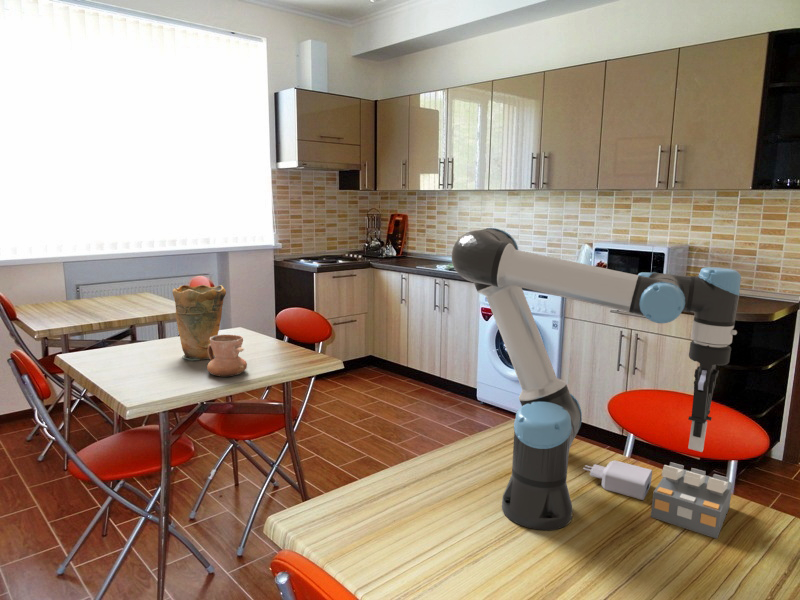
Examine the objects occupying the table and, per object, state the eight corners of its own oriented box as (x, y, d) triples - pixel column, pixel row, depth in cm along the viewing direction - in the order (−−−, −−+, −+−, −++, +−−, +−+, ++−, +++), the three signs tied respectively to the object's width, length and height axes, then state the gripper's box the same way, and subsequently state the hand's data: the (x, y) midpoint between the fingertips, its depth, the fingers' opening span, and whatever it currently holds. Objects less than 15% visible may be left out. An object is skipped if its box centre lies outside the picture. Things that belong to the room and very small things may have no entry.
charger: (588, 469, 149) (650, 486, 141) (578, 483, 141) (642, 502, 133) (590, 452, 148) (652, 468, 140) (579, 465, 141) (645, 483, 132)
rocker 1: (676, 480, 126) (677, 469, 126) (661, 475, 128) (663, 465, 128) (682, 476, 133) (684, 465, 133) (668, 472, 134) (670, 461, 135)
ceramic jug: (257, 373, 222) (256, 336, 220) (228, 382, 210) (226, 344, 207) (225, 365, 231) (224, 331, 229) (195, 374, 219) (193, 337, 217)
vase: (237, 356, 243) (235, 286, 238) (191, 366, 228) (188, 291, 223) (212, 347, 257) (209, 280, 252) (167, 355, 243) (164, 284, 237)
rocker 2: (698, 486, 124) (700, 475, 124) (683, 482, 125) (685, 471, 125) (704, 482, 130) (706, 471, 130) (689, 478, 132) (691, 467, 132)
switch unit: (716, 539, 119) (720, 509, 118) (650, 517, 126) (653, 488, 125) (729, 507, 132) (733, 479, 130) (668, 489, 139) (671, 462, 138)
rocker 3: (722, 493, 121) (724, 482, 121) (706, 488, 123) (708, 477, 123) (727, 488, 127) (728, 477, 127) (711, 484, 129) (713, 473, 129)
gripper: (727, 352, 113) (710, 465, 117) (735, 340, 123) (719, 444, 127) (685, 345, 117) (670, 454, 121) (696, 334, 127) (682, 434, 132)
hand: (695, 448), depth 124 cm, fingers closed
